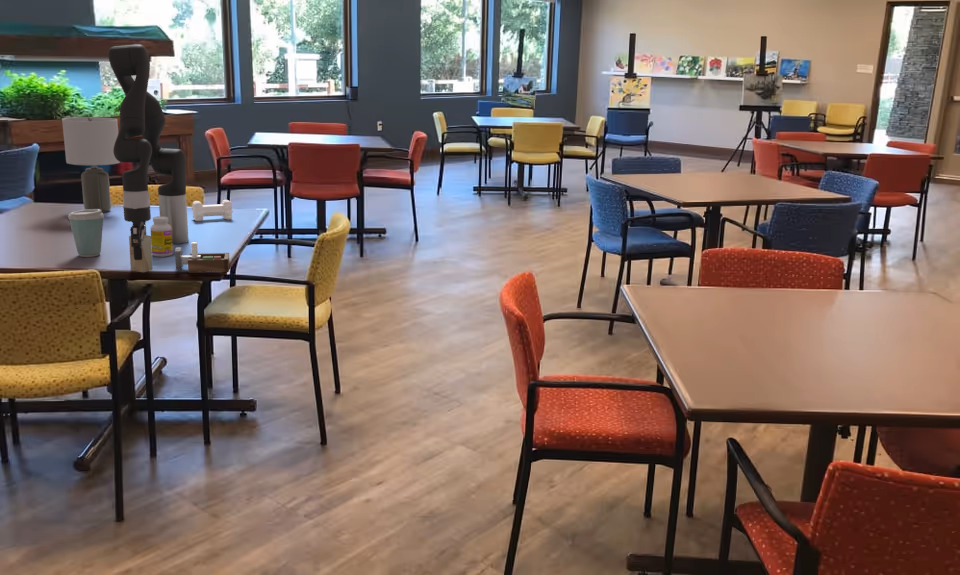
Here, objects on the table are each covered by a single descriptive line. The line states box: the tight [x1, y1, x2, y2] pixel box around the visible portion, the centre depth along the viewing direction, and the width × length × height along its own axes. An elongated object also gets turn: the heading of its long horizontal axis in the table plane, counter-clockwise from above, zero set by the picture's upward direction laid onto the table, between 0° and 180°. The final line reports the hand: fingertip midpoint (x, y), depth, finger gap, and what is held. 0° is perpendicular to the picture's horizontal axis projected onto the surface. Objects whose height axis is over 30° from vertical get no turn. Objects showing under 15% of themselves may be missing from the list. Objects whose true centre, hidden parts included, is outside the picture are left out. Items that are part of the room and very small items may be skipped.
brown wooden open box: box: [187, 252, 230, 274], centre depth 254 cm, size 9×12×5 cm
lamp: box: [61, 116, 121, 214], centre depth 331 cm, size 20×20×39 cm
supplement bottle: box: [150, 215, 174, 258], centre depth 268 cm, size 7×7×13 cm
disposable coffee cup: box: [67, 209, 105, 258], centre depth 263 cm, size 11×11×15 cm
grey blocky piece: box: [174, 241, 201, 271], centre depth 252 cm, size 6×7×8 cm
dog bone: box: [191, 199, 234, 222], centre depth 329 cm, size 15×9×8 cm, turn 120°
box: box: [128, 234, 153, 273], centre depth 248 cm, size 5×4×11 cm
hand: (140, 256), depth 248 cm, fingers open, 8 cm apart
